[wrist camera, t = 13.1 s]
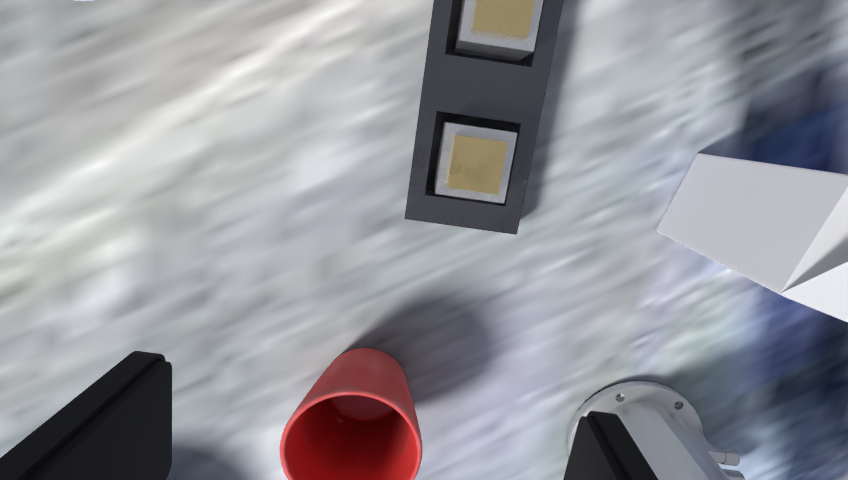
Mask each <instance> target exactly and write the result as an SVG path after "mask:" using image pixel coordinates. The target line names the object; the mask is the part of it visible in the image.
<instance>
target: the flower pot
mask: <svg viewBox="0 0 848 480" xmlns="http://www.w3.org/2000/svg"><path fill="white" fill-rule="evenodd" d="M280 459H281V464H282V467H283V470H284V473H285V475H286V477H287V479H288V480H414V479H415V477H416V475H417V473H418V470H419V467H420V464H421V459H422V440H421V434H420V429H419V425H418V420H417V416H416V412H415V407H414V403H413V399H412V396H411V392H410V389H409V385H408V382H407V379H406V376H405V373H404V371H403V369H402V367H401V366H400V364H399V363H398V362H397V361H396V360H395V359H394V358H393V357H391V356H390V355H389V354H387V353H385V352H383V351H380V350H377V349H373V348H357V349H353V350H350V351H347V352H345V353H343V354H341V355H340V356H338V357H337V358H336V359H335V360H334V361H333V362H332V363H331V364H330V366H329V367H328V368H327V369H326V370H325V371H324V373H323V374H322V375H321V376H320V378H319V379H318V380H317V382H316V383H315V384H314V386H313V387H312V388H311V390H310V391H309V392H308V394H307V395H306V396H305V398H304V399H303V401H302V402H301V403H300V405H299V406H298V408H297V409H296V411H295V412H294V413H293V415H292V416H291V418H290V419H289V421H288V423H287V424H286V427H285V429H284V431H283V434H282V438H281V443H280Z"/></svg>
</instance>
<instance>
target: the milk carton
mask: <svg viewBox="0 0 848 480" xmlns="http://www.w3.org/2000/svg"><path fill="white" fill-rule="evenodd" d="M656 231H657V232H659V233H661V234H663V235H665V236H667V237H669V238H671V239H673V240H675V241H677V242H679V243H681V244H682V245H684V246H686V247H688V248H690V249H692V250H694V251H696V252H698V253H700V254H702V255H704V256H706V257H708V258H710V259H712V260H714V261H716V262H718V263H719V264H721V265H723V266H725V267H727V268H729V269H731V270H733V271H735V272H737V273H739V274H741V275H743V276H745V277H747V278H749V279H751V280H753V281H754V282H756V283H758V284H760V285H762V286H764V287H766V288H768V289H770V290H772V291H774V292H776V293H778V294H780V295H782V296H784V297H786V298H789V299H791V300H793V301H796V302H798V303H801V304H803V305H806V306H808V307H811V308H813V309H816V310H818V311H821V312H823V313H826V314H828V315H831V316H833V317H836V318H838V319H841V320H843V321H846V322H848V175H846V174H839V173H833V172H826V171H819V170H812V169H805V168H798V167H791V166H784V165H777V164H770V163H763V162H756V161H749V160H742V159H736V158H729V157H722V156H715V155H708V154H701V153H698V154H697V155H696V157H695V159H694V161H693V162H692V164H691V166H690V168H689V170H688V172H687V174H686V175H685V177H684V179H683V181H682V183H681V185H680V186H679V188H678V190H677V192H676V194H675V196H674V198H673V199H672V201H671V203H670V205H669V207H668V209H667V210H666V212H665V214H664V216H663V218H662V220H661V222H660V223H659V225H658V227H657V229H656Z"/></svg>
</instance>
